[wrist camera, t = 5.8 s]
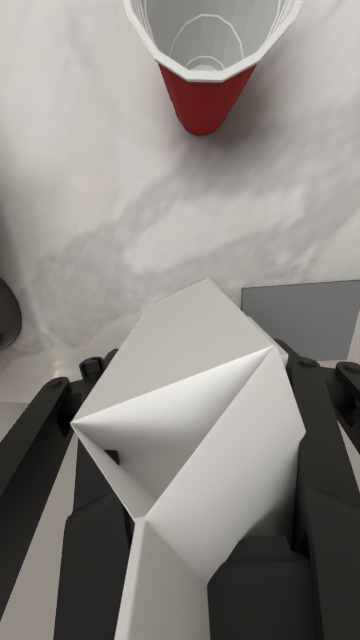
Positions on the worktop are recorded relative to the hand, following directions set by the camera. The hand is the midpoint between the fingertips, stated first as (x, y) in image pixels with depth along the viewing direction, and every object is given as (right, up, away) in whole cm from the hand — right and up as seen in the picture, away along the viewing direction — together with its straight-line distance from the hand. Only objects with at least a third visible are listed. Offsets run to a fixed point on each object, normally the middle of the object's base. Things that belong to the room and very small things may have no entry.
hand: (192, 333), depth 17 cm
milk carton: (0, +1, +4) cm, 4 cm away
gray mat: (+16, +1, +10) cm, 19 cm away
